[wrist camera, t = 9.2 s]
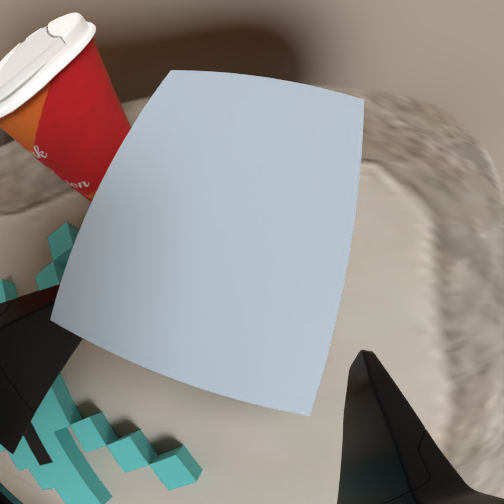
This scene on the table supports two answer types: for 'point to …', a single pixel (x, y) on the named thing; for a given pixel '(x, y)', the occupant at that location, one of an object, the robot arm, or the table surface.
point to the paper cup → (63, 103)
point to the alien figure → (83, 424)
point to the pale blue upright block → (223, 237)
